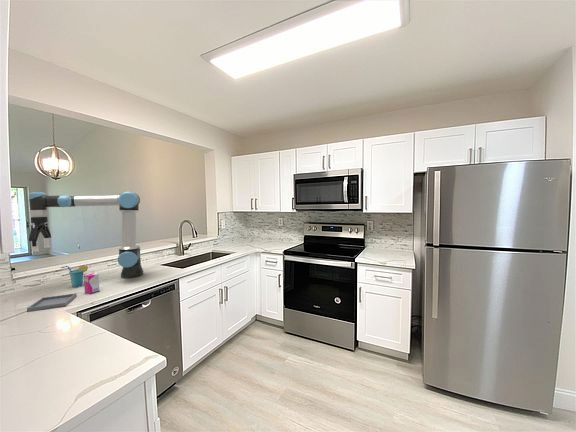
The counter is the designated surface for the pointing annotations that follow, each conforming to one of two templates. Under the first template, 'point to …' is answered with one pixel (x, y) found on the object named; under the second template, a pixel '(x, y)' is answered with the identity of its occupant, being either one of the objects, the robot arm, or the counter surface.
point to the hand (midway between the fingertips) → (41, 249)
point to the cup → (77, 275)
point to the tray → (52, 302)
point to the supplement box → (91, 283)
